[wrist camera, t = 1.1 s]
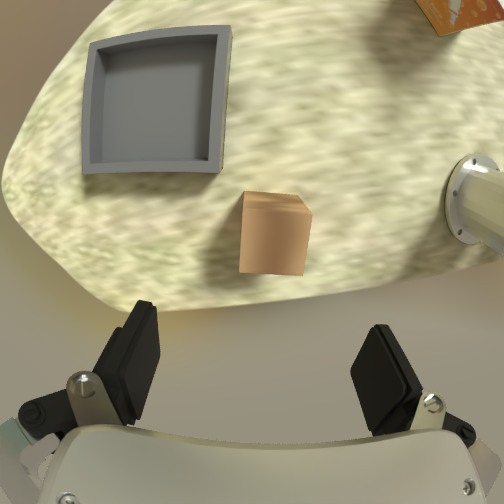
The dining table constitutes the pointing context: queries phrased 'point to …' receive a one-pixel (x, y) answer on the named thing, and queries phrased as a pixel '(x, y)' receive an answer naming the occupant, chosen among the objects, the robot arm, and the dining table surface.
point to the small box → (461, 14)
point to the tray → (157, 101)
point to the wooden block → (274, 234)
